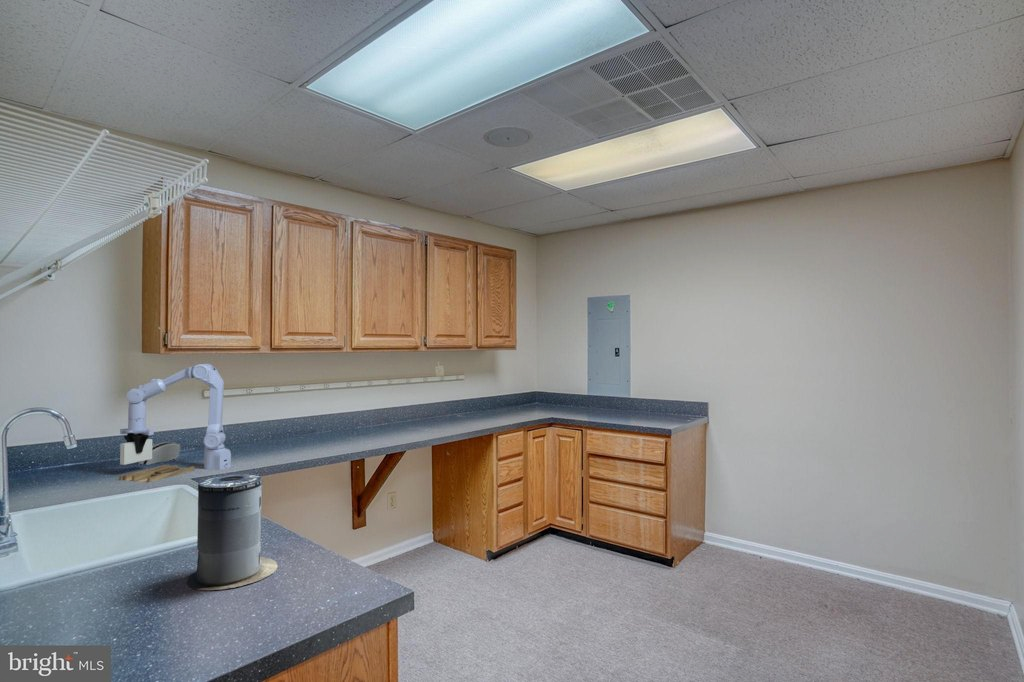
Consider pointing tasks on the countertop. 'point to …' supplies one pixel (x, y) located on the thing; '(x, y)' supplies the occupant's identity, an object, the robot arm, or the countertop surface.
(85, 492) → the countertop surface
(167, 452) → the grey curved slab
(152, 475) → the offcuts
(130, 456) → the white rectangular block
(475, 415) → the countertop surface
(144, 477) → the rack
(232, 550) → the trash can
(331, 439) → the countertop surface
